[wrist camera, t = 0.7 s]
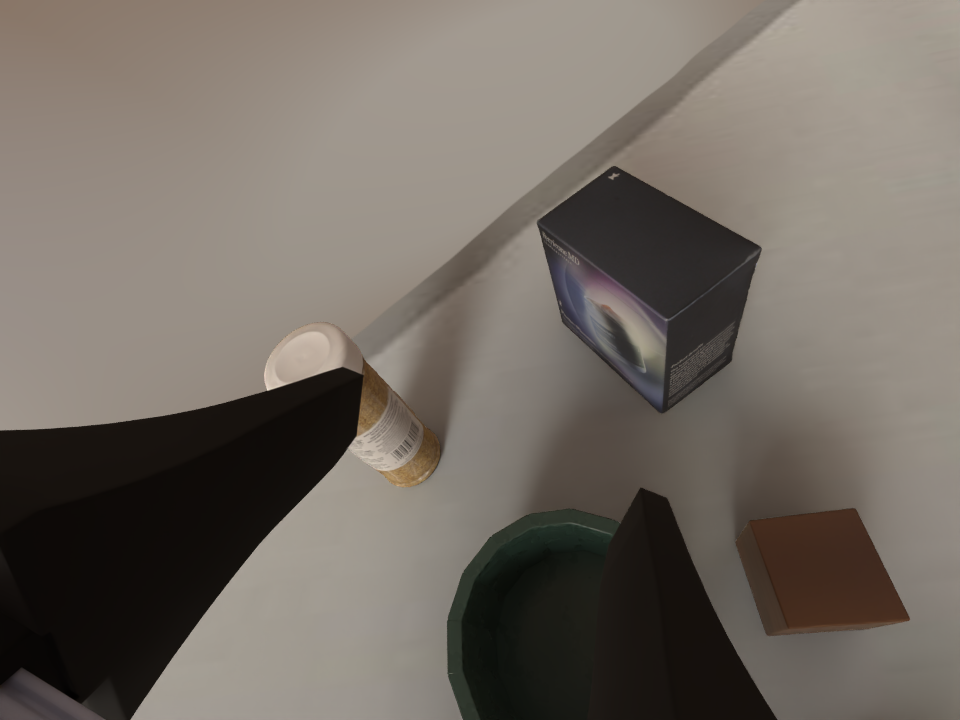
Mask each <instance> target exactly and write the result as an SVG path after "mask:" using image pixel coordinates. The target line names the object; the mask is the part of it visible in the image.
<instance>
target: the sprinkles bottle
mask: <svg viewBox="0 0 960 720" xmlns="http://www.w3.org/2000/svg"><path fill="white" fill-rule="evenodd" d="M340 367H345V368H348V369H350V370H352V371H355V372H357V373H360V374H362V375H364V377H363V386H362V394H361V403H360V412H359V420H358V429H357V436H356V438H355V439H354V440H353V442H352V443H351V445H350V446H349V447H348V450H349V451H351V452H352V453H353V454H355V455H356V456H357V457H359V458H360V459H361V460H363V461H364V462H365V463H367V464H368V465H369V466H371V467H372V468H374V469H376V470H377V471H379V472H380V473H381V474H383V475H384V476H385V477H386V478H387V479H388V481H389V482H391V483H392V484H394V485H396V486H400V487H411V486H414V485H417V484H419V483H421V482H423V481H424V480H426V479H427V478H428V477H429V476H430V475H431V474H432V473H433V471H434V469H435V468H436V466H437V464H438V461H439V458H440V444H439V441H438V439H437V437H436V435H435V434H434V433H433V432H432V431H431V430H430V429H428V428H426V427H425V425H424V424H423V423H422V422H421V421H420V420H419V419H418V418H417V417H416V415H415V413H414V412H413V411H412V410H411V408H410V407H409V406H408V405H407V404H406V403H405V402H404V401H403V399H402V398H401V397H400V396H399V395H398V394H397V393H396V392H395V391H393V390H392V389H391V387H390V386H389V385H388V384H387V383H386V382H385V381H384V380H383V379H382V378H381V377H380V376H379V375H378V373H377V372H376V371H375V370H374V369H373V368H372V367H371V366H370V365H369V364H368V363H367V362H366V361H365V360H364V358H363V356H362V354H361V351H360V350H359V348H358V347H357V345H356V344H355V343H354V342H353V341H352V340H351V339H350V338H349V337H348V336H347V335H346V334H345V333H344V332H343V331H342V330H341V329H340V328H339V327H337V326H335V325H333V324H330V323H326V322H317V323H312V324H307V325H305V326H302V327H300V328H298V329H296V330H294V331H293V332H291V333H290V334H289V335H287V336H286V337H285V338H284V339H282V341H280V343H279V344H278V345H277V346H276V347H275V349H274V350H273V351H272V353H271V355H270V357H269V359H268V361H267V364H266V367H265V373H264V379H265V385H266V387H267V390H271V389H275V388H278V387H281V386H284V385H287V384H290V383H293V382H296V381H299V380H302V379H305V378H308V377H311V376H314V375H317V374H320V373H324V372H327V371H330V370H333V369H337V368H340Z"/></svg>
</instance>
